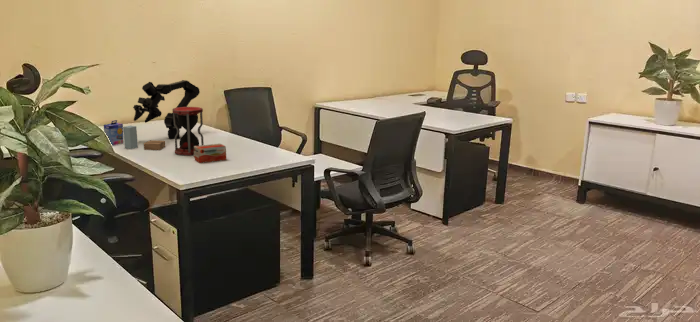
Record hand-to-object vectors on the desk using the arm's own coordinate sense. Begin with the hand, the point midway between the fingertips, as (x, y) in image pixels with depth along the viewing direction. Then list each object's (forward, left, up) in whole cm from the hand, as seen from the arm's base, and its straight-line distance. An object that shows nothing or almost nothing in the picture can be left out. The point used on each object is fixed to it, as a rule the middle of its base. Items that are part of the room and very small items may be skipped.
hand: (139, 121), depth 322 cm
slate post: (+5, +6, -14) cm, 16 cm away
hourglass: (-27, +25, -14) cm, 40 cm away
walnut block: (-8, +10, -15) cm, 20 cm away
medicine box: (-37, +45, -15) cm, 60 cm away
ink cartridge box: (+15, -6, -14) cm, 22 cm away
